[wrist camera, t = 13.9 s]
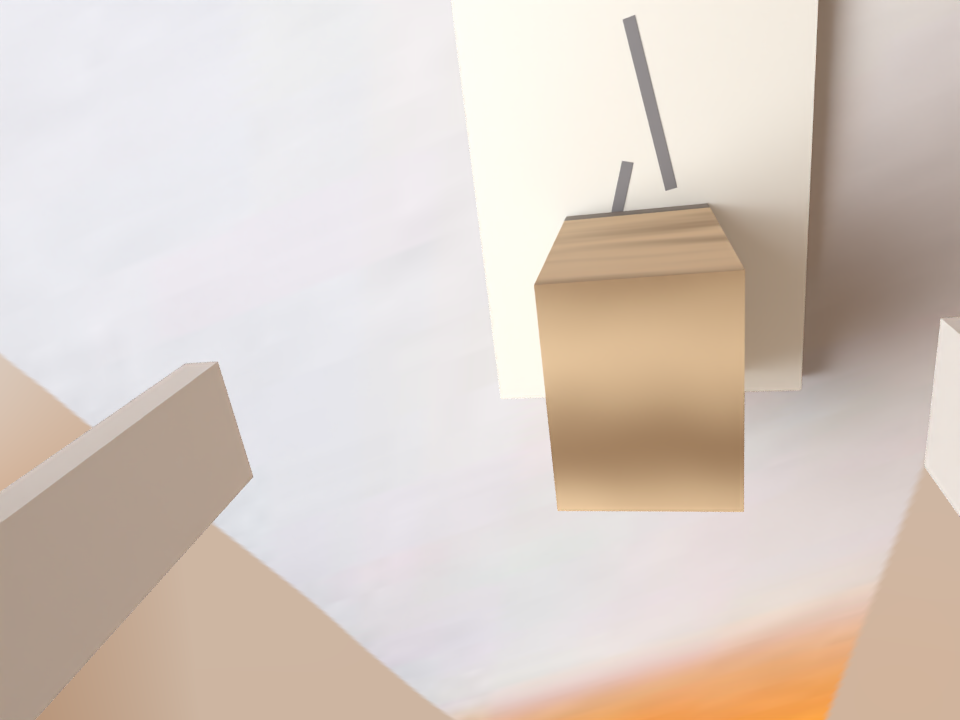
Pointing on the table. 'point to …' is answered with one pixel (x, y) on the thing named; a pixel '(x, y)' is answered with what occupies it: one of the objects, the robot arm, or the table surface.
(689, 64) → the board
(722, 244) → the block
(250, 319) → the table surface
